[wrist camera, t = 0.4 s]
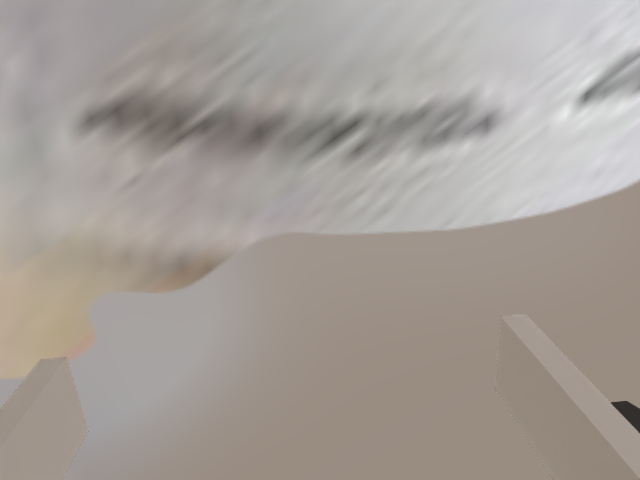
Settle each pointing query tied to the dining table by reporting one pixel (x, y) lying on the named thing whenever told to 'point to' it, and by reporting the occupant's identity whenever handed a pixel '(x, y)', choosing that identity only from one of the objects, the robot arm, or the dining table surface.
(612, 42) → the dining table surface
